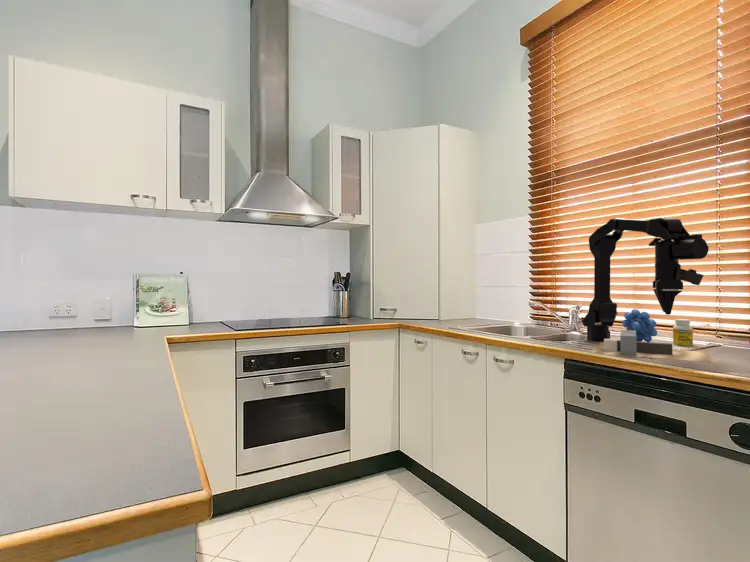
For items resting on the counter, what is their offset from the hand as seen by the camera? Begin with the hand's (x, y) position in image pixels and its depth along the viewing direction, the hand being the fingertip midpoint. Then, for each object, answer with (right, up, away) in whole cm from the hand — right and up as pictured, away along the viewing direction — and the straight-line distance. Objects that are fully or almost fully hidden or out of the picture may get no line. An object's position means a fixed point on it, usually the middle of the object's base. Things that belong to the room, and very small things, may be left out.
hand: (666, 313), depth 125 cm
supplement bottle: (+16, -13, +16) cm, 26 cm away
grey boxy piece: (-9, -12, +4) cm, 15 cm away
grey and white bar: (-7, -12, +3) cm, 14 cm away
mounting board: (-4, -13, +2) cm, 14 cm away
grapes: (+10, -13, +30) cm, 34 cm away
